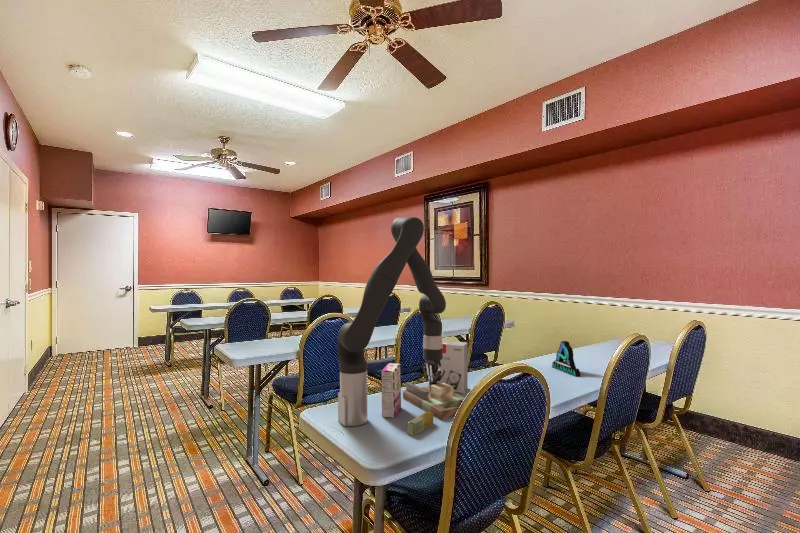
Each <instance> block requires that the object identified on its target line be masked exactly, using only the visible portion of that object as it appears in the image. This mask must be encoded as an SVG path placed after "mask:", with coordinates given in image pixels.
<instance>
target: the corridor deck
mask: <svg viewBox="0 0 800 533" xmlns="http://www.w3.org/2000/svg"><path fill="white" fill-rule="evenodd" d="M440 383H443V382H441V381H437V384H440ZM445 384H446V383H445ZM403 398H404V399H403ZM464 398H466V397H464V396H462V395H460V394H458V393H457V392H454V387H453V399H450V400H445V401H441V402H440V401H438V400H436V399H434V398H432V397H431V391H430V386H429V385H428V386H422V387H419V386H418V385H416V384H414V383H412V382H409V381H407V382H405V390H402V399H403V400H405V401H406V402H408V401H409V402H408V403H410V404H412V405H414V406H416V407H417V408H419V409H420V410H422V411H424V412H427V411H428V412H431V413H434V417H435V418H436V419H438V420H440V421H443V420H447V419H451V418H455V417H454V416H455V414H456V412H457V410H458V409H459V407H460V405H461V403H462V402H463V400H464ZM434 417H433V418H434Z"/></svg>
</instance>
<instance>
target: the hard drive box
mask: <svg viewBox="0 0 800 533" xmlns="http://www.w3.org/2000/svg"><path fill="white" fill-rule="evenodd" d="M442 342H443V358H442V359H441V360H440V363H441V369H442V370H445V373H444V375H443V377H442V379H441V380H440V381H441V382H443V383H446V384H448V385H450V386H453V387H454V393H461V394H464V393H465V392H466V391H467V390H468V380H469V379H468V375H469V374H468V366H469V365H468V364H469V363H468V362H469V361H468V359H469V358H468V357H469V356H468V355H469V352H468V350H469V348H468V346H469V344H468V342H465V341H455V340H454V341H452V340H442ZM428 386H430V381H429V380H428Z"/></svg>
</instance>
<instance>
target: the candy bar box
mask: <svg viewBox="0 0 800 533" xmlns="http://www.w3.org/2000/svg"><path fill="white" fill-rule="evenodd" d="M380 374H381V375H380V376H381V379H380V380H381V382H380V383H381V385H380V386H381V387H380V388H381V418H388V419H389V418H392V419H396V417H397V415H398V413H399V412H400V409H401V408H402V395H401V394H402V390H401V388H402V387H401V378H402V377H401V363H395V362H394V363H392V362H389V363H387V364H386V366H385V367H384V368H383V369H382V370H381V372H380Z"/></svg>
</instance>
